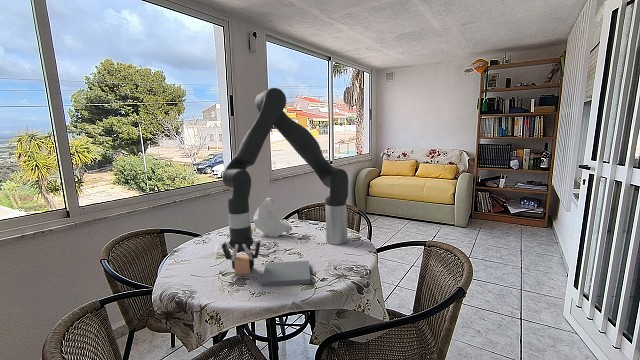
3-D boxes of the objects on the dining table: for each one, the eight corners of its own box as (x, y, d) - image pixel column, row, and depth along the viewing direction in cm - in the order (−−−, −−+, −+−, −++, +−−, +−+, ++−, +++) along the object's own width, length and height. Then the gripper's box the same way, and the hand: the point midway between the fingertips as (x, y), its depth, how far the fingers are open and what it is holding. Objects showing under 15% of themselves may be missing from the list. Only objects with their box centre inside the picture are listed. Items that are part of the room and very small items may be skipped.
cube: (251, 267, 112) (250, 254, 111) (249, 273, 107) (248, 260, 106) (238, 267, 111) (237, 255, 111) (235, 274, 106) (234, 261, 106)
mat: (309, 264, 112) (308, 260, 112) (310, 283, 99) (310, 279, 98) (266, 266, 111) (266, 262, 111) (261, 286, 98) (261, 281, 97)
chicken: (253, 244, 144) (291, 234, 139) (239, 207, 142) (276, 196, 137) (260, 239, 151) (295, 229, 146) (246, 203, 149) (282, 192, 144)
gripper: (261, 220, 110) (264, 263, 113) (222, 221, 109) (226, 265, 112) (258, 226, 103) (261, 272, 106) (216, 228, 102) (220, 275, 105)
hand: (243, 268), depth 109 cm, fingers closed on cube, 5 cm apart
